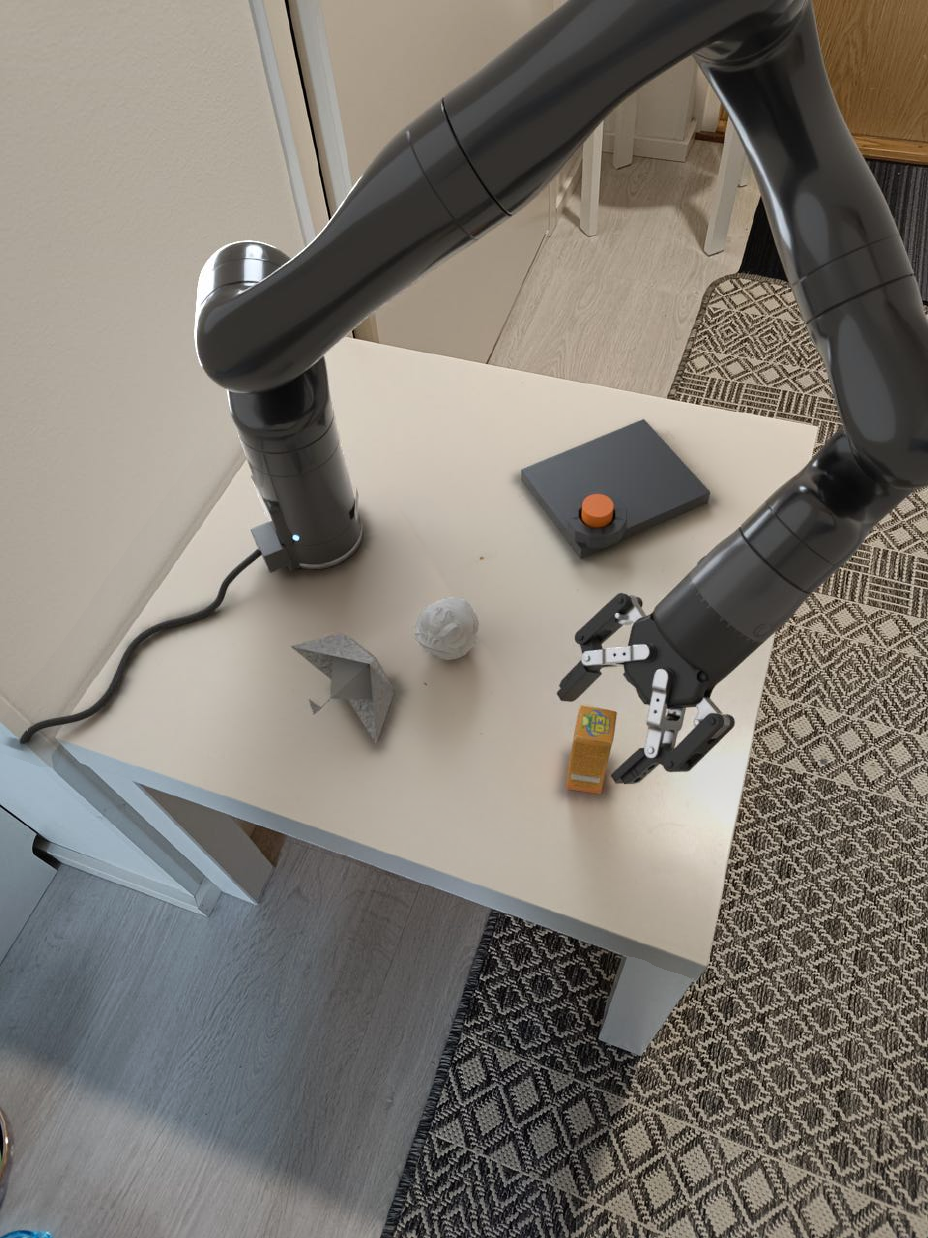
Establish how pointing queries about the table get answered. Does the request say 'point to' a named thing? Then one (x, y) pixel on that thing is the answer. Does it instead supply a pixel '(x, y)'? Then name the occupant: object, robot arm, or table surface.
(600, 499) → the tare button
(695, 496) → the scale
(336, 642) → the gray faceted winged figurine
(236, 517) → the table surface
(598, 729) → the supplement box
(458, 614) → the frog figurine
